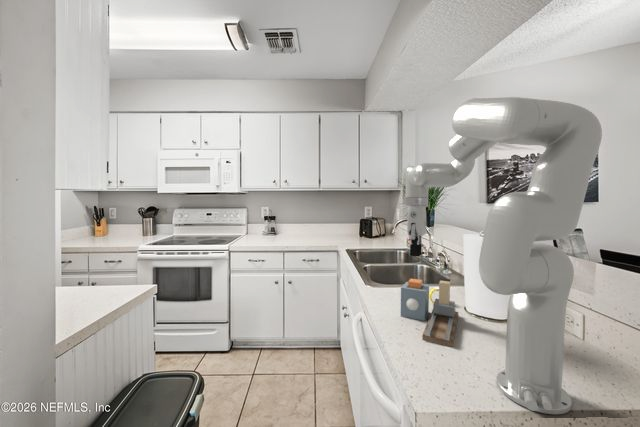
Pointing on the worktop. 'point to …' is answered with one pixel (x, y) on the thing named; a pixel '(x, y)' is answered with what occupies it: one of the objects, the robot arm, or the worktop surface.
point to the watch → (432, 292)
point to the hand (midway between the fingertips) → (415, 254)
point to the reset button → (415, 283)
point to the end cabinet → (415, 302)
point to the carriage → (444, 300)
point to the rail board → (441, 329)
